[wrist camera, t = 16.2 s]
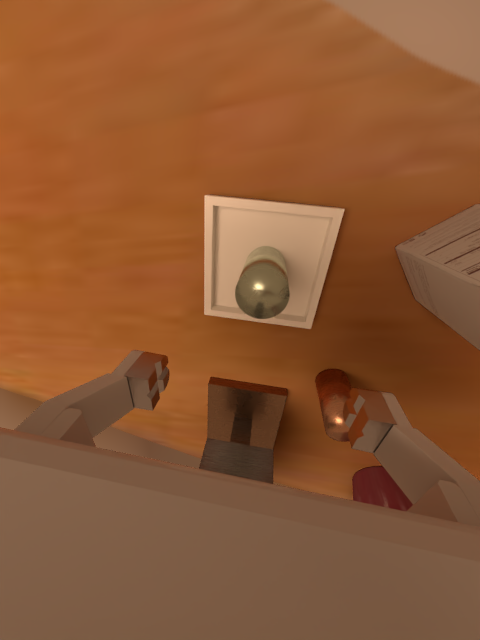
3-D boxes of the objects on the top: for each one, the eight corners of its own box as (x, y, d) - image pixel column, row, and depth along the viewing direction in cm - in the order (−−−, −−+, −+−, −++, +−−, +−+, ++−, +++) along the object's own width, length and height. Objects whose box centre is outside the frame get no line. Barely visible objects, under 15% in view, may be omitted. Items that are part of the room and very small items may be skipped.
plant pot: (322, 479, 47) (337, 569, 36) (374, 447, 40) (412, 546, 29) (378, 504, 49) (408, 596, 38) (437, 478, 42) (494, 581, 31)
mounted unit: (286, 388, 36) (297, 574, 19) (271, 448, 44) (268, 616, 27) (210, 376, 37) (154, 544, 20) (209, 437, 45) (168, 593, 28)
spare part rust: (352, 371, 33) (372, 420, 26) (342, 393, 35) (358, 444, 28) (319, 366, 33) (331, 413, 26) (312, 388, 35) (321, 437, 28)
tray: (338, 207, 23) (344, 209, 21) (308, 320, 30) (310, 329, 28) (210, 194, 24) (204, 195, 22) (208, 306, 30) (204, 314, 29)
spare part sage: (289, 248, 25) (294, 272, 18) (281, 287, 27) (284, 322, 20) (247, 243, 25) (237, 265, 18) (243, 282, 27) (233, 315, 20)
